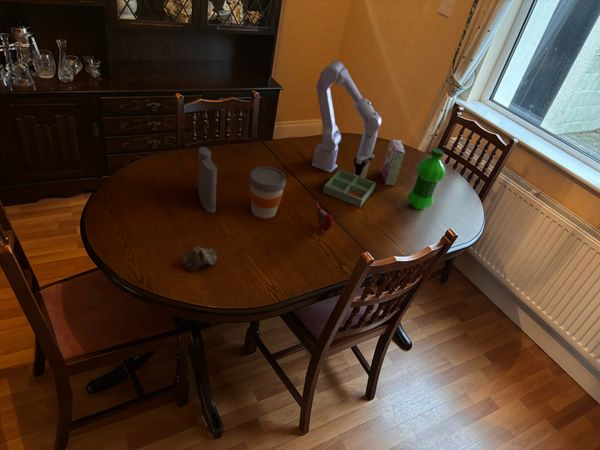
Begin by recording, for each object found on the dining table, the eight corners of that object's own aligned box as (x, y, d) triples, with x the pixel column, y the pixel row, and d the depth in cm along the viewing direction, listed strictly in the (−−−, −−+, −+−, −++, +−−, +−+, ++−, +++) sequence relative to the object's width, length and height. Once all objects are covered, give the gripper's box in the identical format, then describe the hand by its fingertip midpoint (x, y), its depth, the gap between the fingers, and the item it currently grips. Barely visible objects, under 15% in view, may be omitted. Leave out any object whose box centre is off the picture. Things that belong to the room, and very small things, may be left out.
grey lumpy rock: (214, 246, 139) (182, 252, 137) (214, 239, 132) (179, 246, 130) (219, 269, 136) (186, 276, 134) (218, 263, 130) (184, 271, 128)
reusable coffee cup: (276, 224, 156) (281, 189, 147) (241, 216, 157) (245, 180, 148) (284, 205, 166) (289, 171, 157) (252, 198, 167) (255, 163, 158)
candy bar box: (380, 171, 198) (390, 138, 189) (391, 173, 199) (402, 140, 189) (383, 185, 189) (394, 150, 180) (395, 186, 190) (406, 152, 180)
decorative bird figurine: (323, 244, 151) (328, 220, 146) (309, 213, 165) (313, 190, 159) (331, 243, 152) (337, 220, 146) (316, 213, 166) (321, 190, 160)
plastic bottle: (402, 206, 178) (421, 151, 163) (409, 195, 186) (428, 141, 171) (426, 216, 175) (448, 160, 160) (432, 204, 183) (454, 150, 168)
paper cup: (350, 176, 191) (354, 160, 186) (355, 171, 195) (359, 155, 190) (362, 181, 189) (367, 165, 184) (367, 176, 193) (371, 160, 189)
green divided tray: (322, 192, 178) (324, 185, 175) (338, 176, 190) (340, 169, 188) (360, 207, 173) (362, 200, 171) (373, 189, 185) (376, 182, 183)
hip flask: (216, 212, 157) (218, 163, 145) (204, 214, 155) (205, 164, 143) (206, 188, 168) (207, 140, 156) (195, 189, 166) (195, 140, 154)
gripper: (370, 152, 176) (362, 182, 184) (382, 140, 187) (374, 168, 195) (354, 147, 178) (347, 176, 186) (366, 135, 189) (359, 163, 197)
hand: (360, 171), depth 191 cm, fingers closed on paper cup, 6 cm apart
